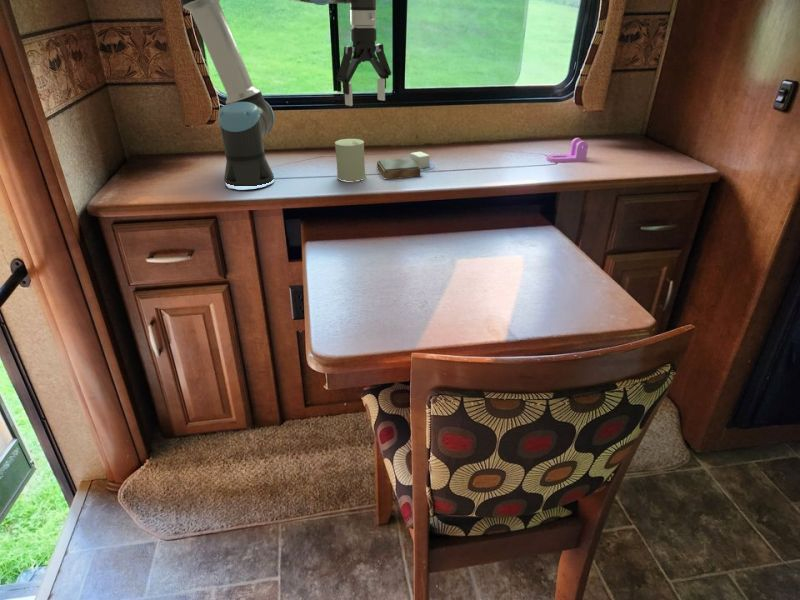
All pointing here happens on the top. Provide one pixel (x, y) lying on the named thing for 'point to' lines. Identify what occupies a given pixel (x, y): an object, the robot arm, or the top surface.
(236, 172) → the robot arm
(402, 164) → the stand
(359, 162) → the can
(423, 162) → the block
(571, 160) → the bracket
